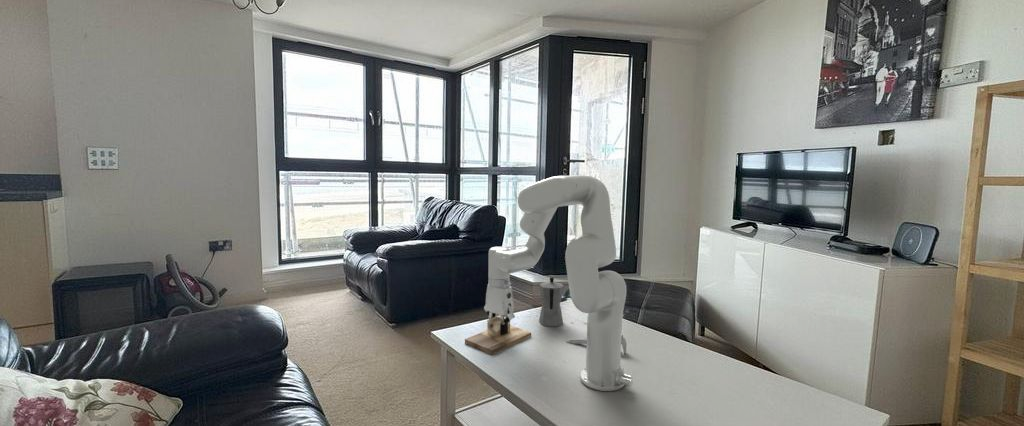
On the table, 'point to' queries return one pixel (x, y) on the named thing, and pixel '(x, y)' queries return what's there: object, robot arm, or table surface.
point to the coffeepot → (551, 303)
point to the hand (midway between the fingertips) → (498, 331)
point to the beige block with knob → (495, 326)
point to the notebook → (497, 340)
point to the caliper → (584, 341)
